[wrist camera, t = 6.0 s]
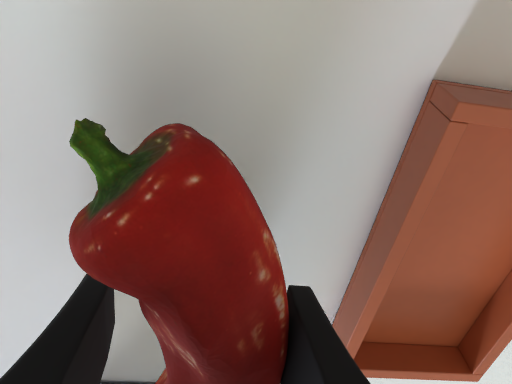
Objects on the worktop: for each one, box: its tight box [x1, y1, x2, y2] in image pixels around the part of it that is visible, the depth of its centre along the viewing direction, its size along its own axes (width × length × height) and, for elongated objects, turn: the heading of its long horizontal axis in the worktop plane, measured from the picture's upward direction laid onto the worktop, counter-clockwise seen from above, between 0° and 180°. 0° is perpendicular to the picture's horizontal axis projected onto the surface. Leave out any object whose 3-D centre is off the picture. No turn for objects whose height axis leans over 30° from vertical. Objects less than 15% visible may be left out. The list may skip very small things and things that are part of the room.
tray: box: [332, 80, 512, 382], centre depth 22 cm, size 18×10×2 cm, turn 171°
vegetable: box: [69, 118, 289, 384], centre depth 12 cm, size 4×5×12 cm
